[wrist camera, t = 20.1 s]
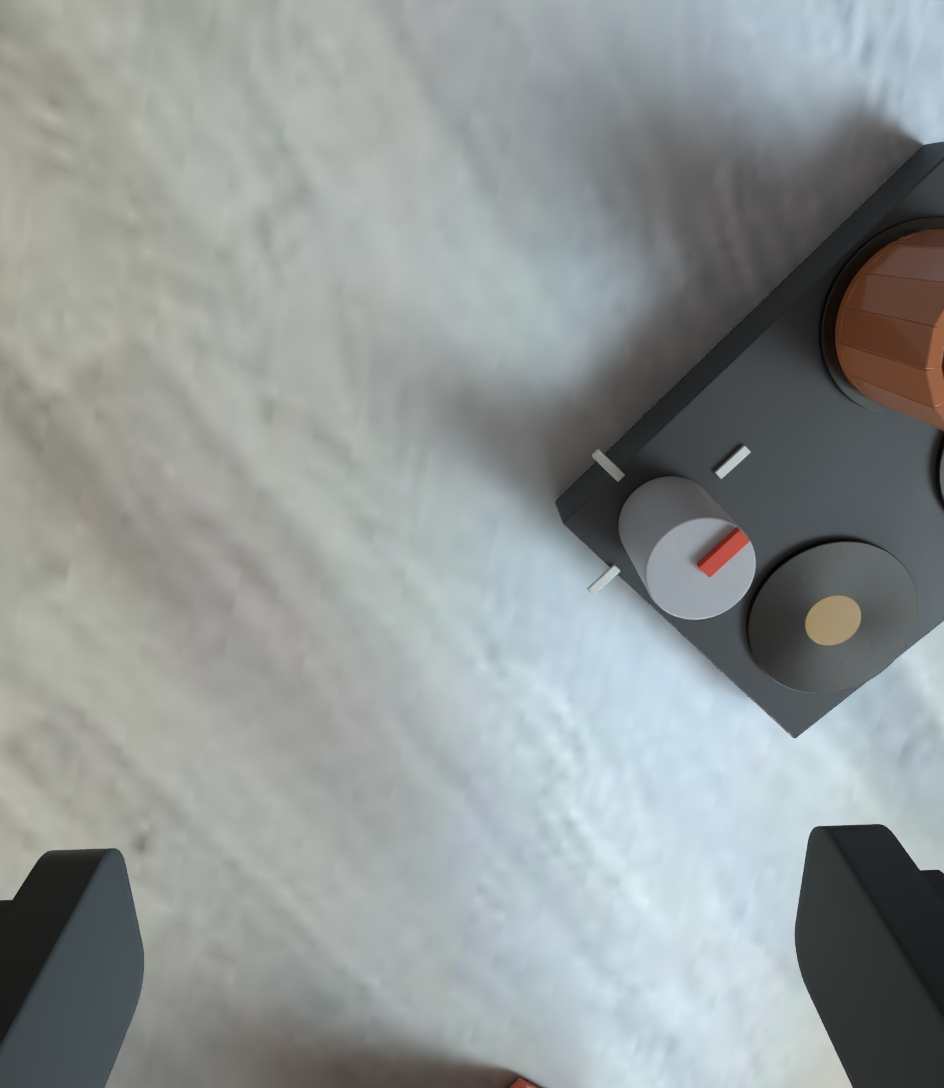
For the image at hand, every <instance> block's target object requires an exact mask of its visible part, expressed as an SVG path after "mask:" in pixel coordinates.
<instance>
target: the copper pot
mask: <svg viewBox="0 0 944 1088" xmlns="http://www.w3.org/2000/svg"><path fill="white" fill-rule="evenodd" d="M835 345H836V351H837V356H838V359H839V362H840V365H841V368H842V370H843V372H844V373H845V375H846V377H847V378H848V380H849V381H850V382H851V384H852V385H853V386H854V387H855V388H856V389H857V390H858V391H859V392H861V393H862V394H863V395H865V396H866V397H868V398H869V399H870V400H872V401H875V402H877V403H880V404H882V405H884V406H887V407H889V408H891V409H894V410H896V411H898V412H901V413H903V414H905V415H908V416H910V417H913V418H915V419H917V420H920V421H922V422H924V423H927V424H929V425H931V426H934V427H936V428H938V429H941V430H943V431H944V229H929V230H923V231H919V232H915V233H912V234H909V235H906V236H903V237H901V238H899V239H897V240H895V241H893V242H891V243H890V244H888V245H887V246H885V247H884V248H882V249H881V250H879V251H878V252H877V253H876V254H875V255H873V256H872V257H871V258H870V259H869V260H868V261H867V262H866V263H865V264H864V265H863V266H862V267H861V269H860V270H859V271H858V273H857V274H856V275H855V277H854V278H853V279H852V281H851V283H850V284H849V286H848V288H847V290H846V292H845V294H844V296H843V298H842V301H841V304H840V307H839V310H838V314H837V319H836V326H835Z"/></svg>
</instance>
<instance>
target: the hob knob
mask: <svg viewBox="0 0 944 1088" xmlns="http://www.w3.org/2000/svg"><path fill="white" fill-rule="evenodd" d="M618 526H619V535H620V539H621V542H622V544H623V546H624V548H625V550H626V551H627V553H628V555H629V557H630V559H631V561H632V563H633V564H634V566H635V568H636V570H637V572H638V574H639V576H640V578H641V579H642V581H643V583H644V585H645V587H646V589H647V591H648V592H649V594H650V596H651V598H652V599H653V601H654V602H655V603H656V604H657V605H658V606H659V607H660V608H661V609H663V610H664V611H666V612H667V613H669V614H671V615H674V616H676V617H680V618H684V619H706V618H710V617H713V616H716V615H719V614H721V613H723V612H725V611H727V610H728V609H730V608H731V607H733V606H734V605H735V604H736V603H737V602H738V601H739V600H740V599H741V598H742V597H743V596H744V595H745V593H746V592H747V590H748V589H749V587H750V585H751V583H752V580H753V577H754V574H755V567H756V558H755V552H754V548H753V545H752V543H751V541H750V539H749V538H748V536H747V535H746V534H745V533H744V532H743V530H742V529H741V528H740V527H739V526H738V525H737V524H736V523H735V522H734V521H733V520H732V519H731V518H730V517H729V516H728V515H727V514H726V512H725V511H724V510H723V509H722V508H721V507H720V506H719V505H718V504H717V503H716V502H715V501H714V500H713V499H712V498H711V497H710V496H709V495H708V493H707V492H706V491H705V490H704V489H703V488H702V487H700V486H699V485H698V484H696V483H695V482H693V481H691V480H689V479H686V478H682V477H676V476H667V477H660V478H656V479H653V480H651V481H649V482H647V483H645V484H643V485H642V486H640V487H639V488H637V489H636V490H635V491H634V492H633V493H632V494H631V495H630V496H629V498H628V499H627V500H626V502H625V504H624V506H623V508H622V510H621V513H620V517H619V525H618Z"/></svg>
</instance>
